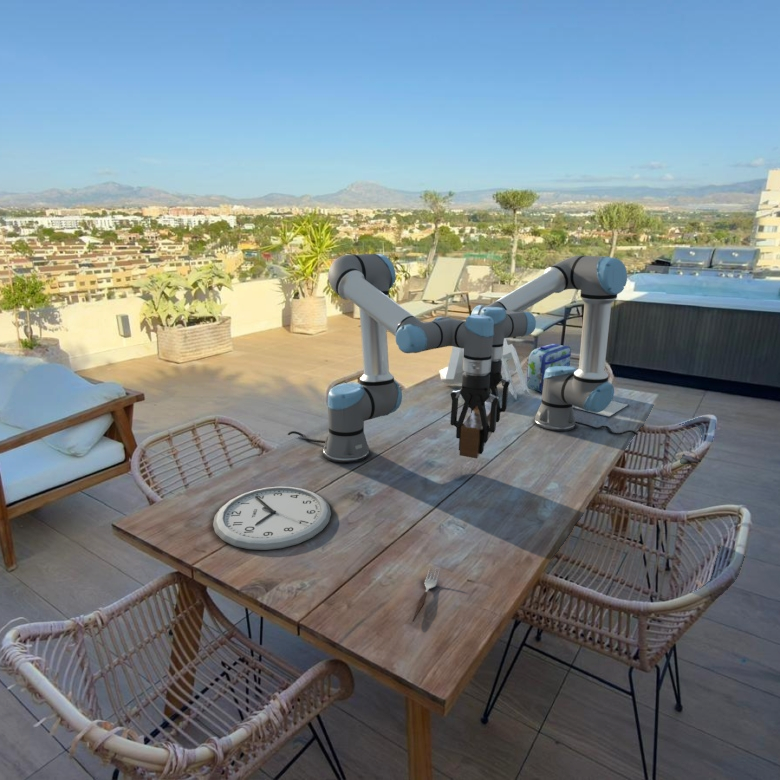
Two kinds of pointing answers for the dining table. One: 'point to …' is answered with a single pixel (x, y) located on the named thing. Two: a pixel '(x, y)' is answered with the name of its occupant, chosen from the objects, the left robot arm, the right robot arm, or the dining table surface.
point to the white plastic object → (455, 367)
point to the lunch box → (545, 363)
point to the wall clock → (272, 518)
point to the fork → (428, 584)
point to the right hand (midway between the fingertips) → (484, 429)
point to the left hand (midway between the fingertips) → (471, 450)
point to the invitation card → (609, 408)
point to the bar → (473, 432)
